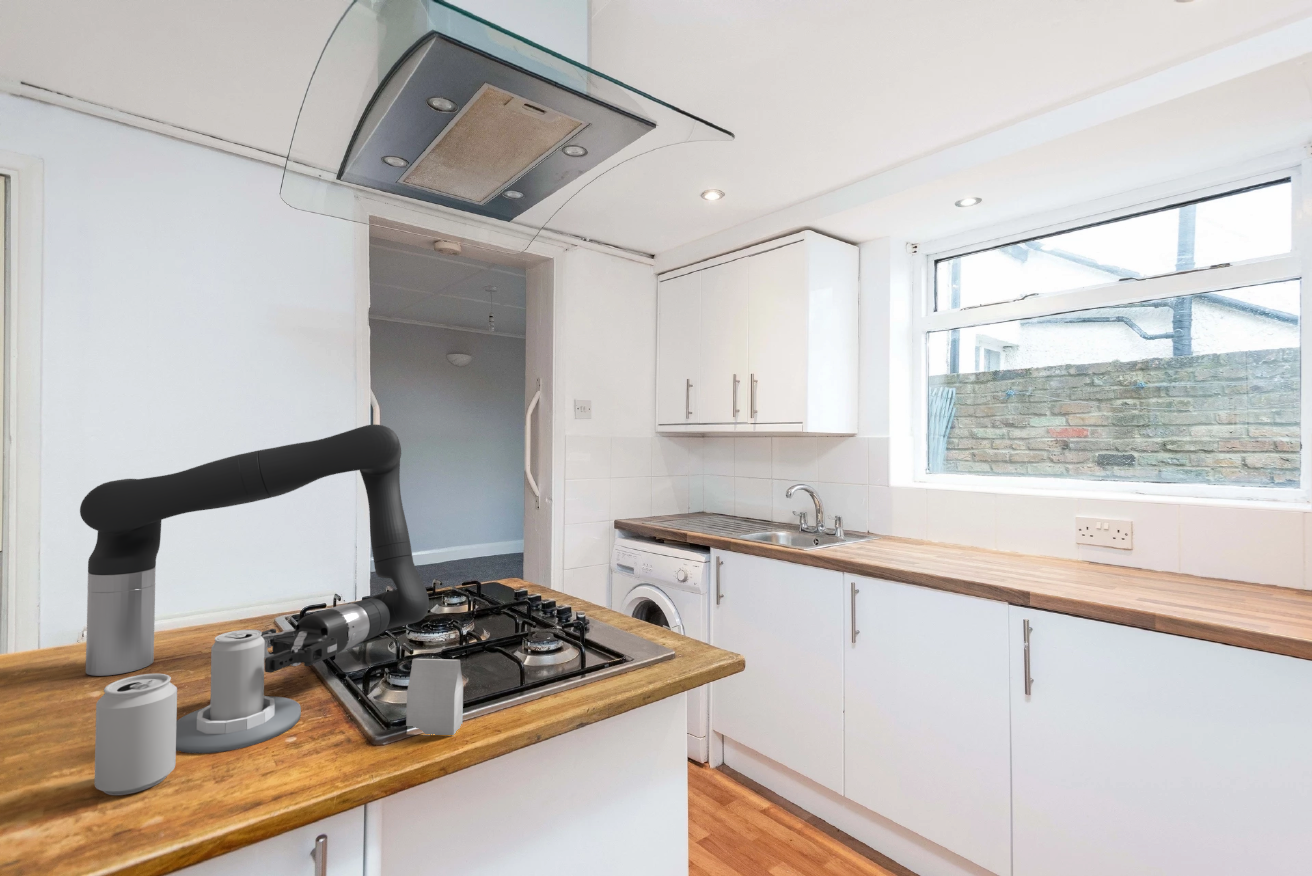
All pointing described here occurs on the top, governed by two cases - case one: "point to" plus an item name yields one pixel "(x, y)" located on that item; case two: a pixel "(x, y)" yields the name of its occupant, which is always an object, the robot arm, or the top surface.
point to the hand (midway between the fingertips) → (244, 662)
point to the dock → (235, 727)
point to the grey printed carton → (435, 696)
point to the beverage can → (237, 675)
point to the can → (135, 734)
